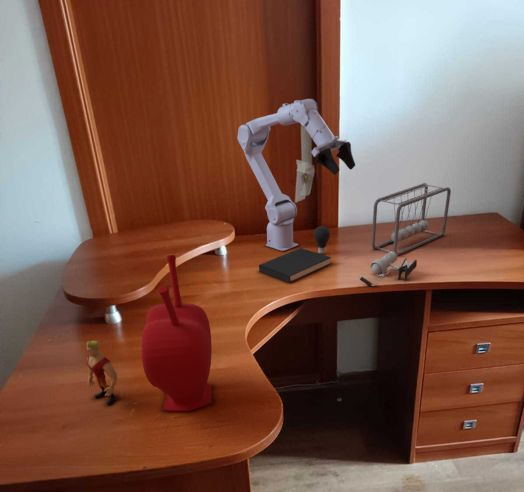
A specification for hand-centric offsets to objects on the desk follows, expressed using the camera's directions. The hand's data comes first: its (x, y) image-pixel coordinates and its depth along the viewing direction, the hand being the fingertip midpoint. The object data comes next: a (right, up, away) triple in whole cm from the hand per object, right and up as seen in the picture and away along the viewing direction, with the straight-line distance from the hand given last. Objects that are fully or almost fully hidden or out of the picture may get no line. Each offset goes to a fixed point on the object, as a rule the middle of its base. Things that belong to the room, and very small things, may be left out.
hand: (345, 169), depth 154 cm
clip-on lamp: (+13, -32, +5) cm, 35 cm away
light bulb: (-4, -21, +25) cm, 33 cm away
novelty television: (-41, -65, -42) cm, 88 cm away
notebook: (-14, -27, +16) cm, 34 cm away
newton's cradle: (+28, -16, +30) cm, 44 cm away
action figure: (-60, -66, -41) cm, 98 cm away
